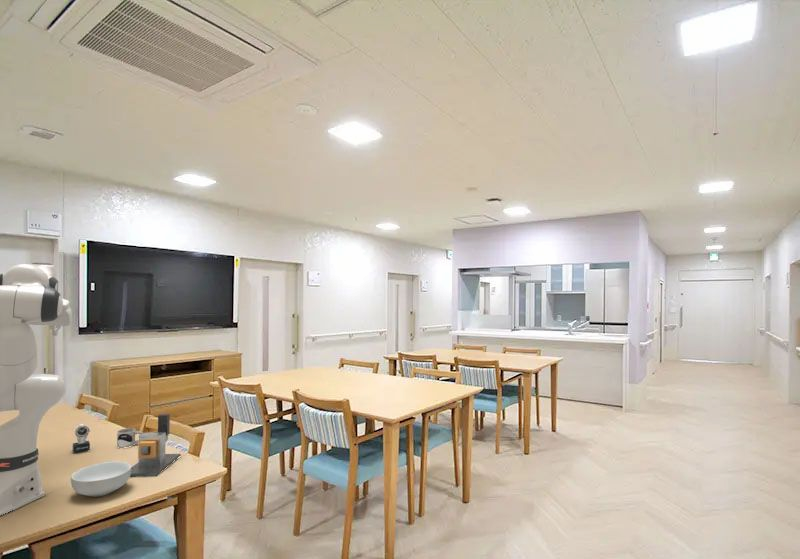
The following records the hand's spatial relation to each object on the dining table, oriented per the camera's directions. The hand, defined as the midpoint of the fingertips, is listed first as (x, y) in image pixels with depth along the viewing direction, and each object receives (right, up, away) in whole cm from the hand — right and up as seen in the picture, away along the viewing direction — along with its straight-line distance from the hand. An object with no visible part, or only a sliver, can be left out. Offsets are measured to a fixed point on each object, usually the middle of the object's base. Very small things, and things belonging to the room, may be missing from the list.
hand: (40, 334), depth 183 cm
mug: (+27, -50, +15) cm, 59 cm away
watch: (+11, -50, +8) cm, 52 cm away
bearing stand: (+50, -49, -10) cm, 71 cm away
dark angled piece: (+50, -42, -8) cm, 66 cm away
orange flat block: (+51, -44, -14) cm, 69 cm away
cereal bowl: (+45, -49, -32) cm, 74 cm away
